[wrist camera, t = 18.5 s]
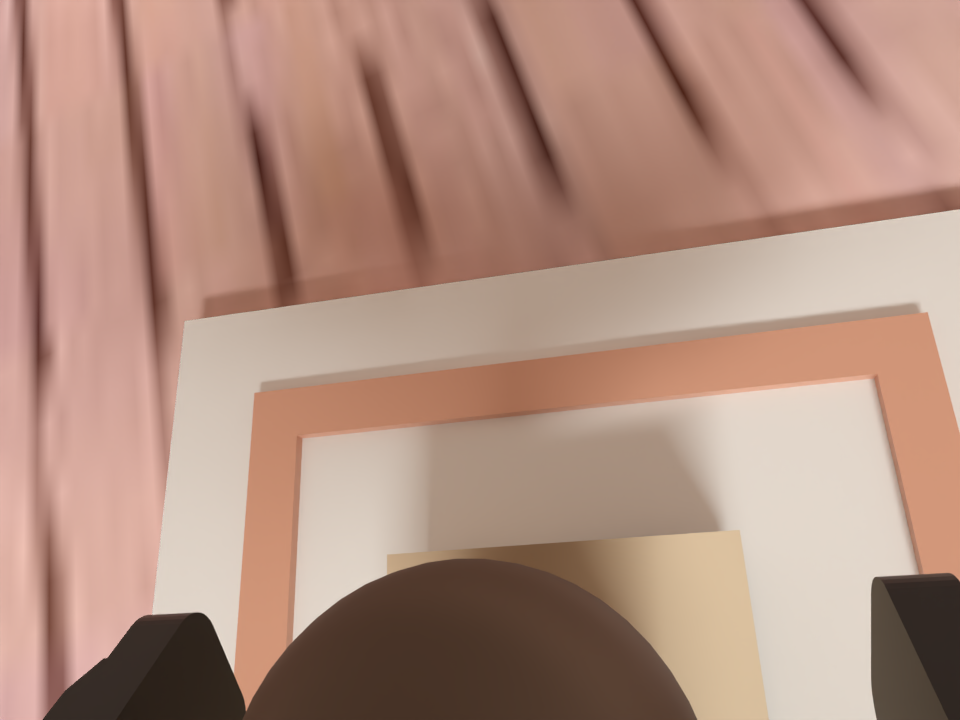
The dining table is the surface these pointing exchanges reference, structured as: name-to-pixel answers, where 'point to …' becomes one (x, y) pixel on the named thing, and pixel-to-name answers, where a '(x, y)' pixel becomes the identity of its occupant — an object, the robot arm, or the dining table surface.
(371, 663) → the rubber stamp
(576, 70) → the dining table surface
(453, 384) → the marked board
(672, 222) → the dining table surface
